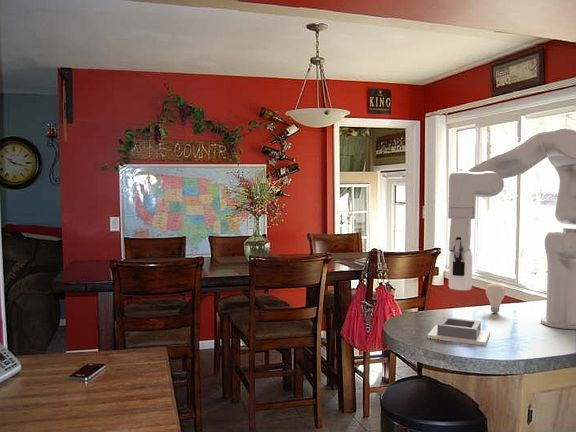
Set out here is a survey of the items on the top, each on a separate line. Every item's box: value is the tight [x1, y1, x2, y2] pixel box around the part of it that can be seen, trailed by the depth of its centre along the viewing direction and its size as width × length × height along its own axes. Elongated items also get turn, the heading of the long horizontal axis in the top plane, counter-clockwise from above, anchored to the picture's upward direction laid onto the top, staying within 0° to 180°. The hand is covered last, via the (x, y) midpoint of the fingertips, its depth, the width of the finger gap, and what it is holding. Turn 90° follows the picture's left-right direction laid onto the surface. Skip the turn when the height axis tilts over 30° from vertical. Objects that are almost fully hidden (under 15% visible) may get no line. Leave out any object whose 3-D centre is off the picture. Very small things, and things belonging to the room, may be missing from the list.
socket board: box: [427, 316, 491, 347], centre depth 148 cm, size 16×13×4 cm
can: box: [448, 248, 473, 292], centre depth 147 cm, size 6×6×12 cm
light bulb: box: [485, 282, 506, 314], centre depth 178 cm, size 7×7×11 cm
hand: (460, 273), depth 147 cm, fingers closed on can, 6 cm apart
